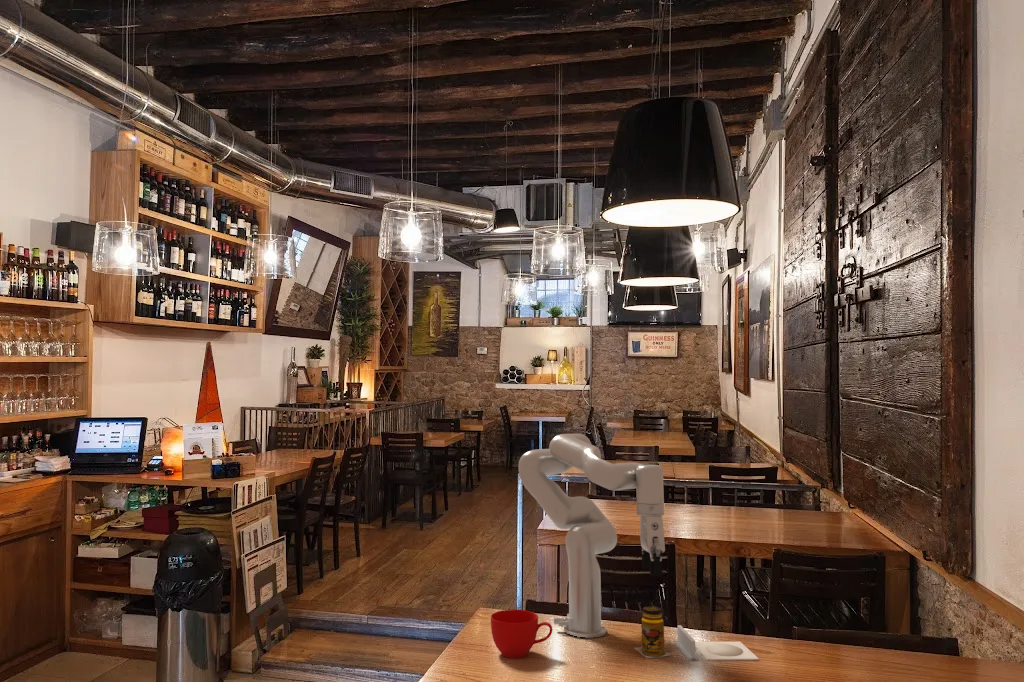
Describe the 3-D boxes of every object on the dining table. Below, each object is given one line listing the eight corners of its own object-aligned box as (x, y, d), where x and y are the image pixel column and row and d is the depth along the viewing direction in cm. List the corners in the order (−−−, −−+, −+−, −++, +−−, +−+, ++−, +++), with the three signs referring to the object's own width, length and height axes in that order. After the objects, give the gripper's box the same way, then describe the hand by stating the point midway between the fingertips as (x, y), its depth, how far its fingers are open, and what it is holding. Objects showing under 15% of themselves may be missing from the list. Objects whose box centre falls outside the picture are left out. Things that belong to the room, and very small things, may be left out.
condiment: (647, 658, 190) (646, 612, 191) (633, 648, 198) (632, 604, 199) (671, 656, 192) (671, 610, 193) (656, 646, 200) (655, 602, 201)
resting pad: (706, 660, 188) (706, 658, 188) (691, 643, 202) (691, 641, 202) (758, 660, 189) (758, 658, 189) (740, 642, 203) (740, 641, 203)
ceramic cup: (548, 665, 185) (548, 625, 186) (485, 660, 188) (485, 621, 189) (555, 648, 197) (555, 611, 198) (496, 644, 201) (496, 608, 202)
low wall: (688, 660, 188) (687, 641, 189) (674, 643, 202) (673, 625, 203) (699, 660, 188) (698, 641, 189) (684, 643, 202) (684, 625, 203)
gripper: (671, 513, 190) (673, 579, 188) (656, 505, 207) (657, 565, 205) (643, 513, 190) (645, 579, 188) (630, 505, 207) (632, 565, 205)
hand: (651, 572), depth 197 cm, fingers open, 9 cm apart
